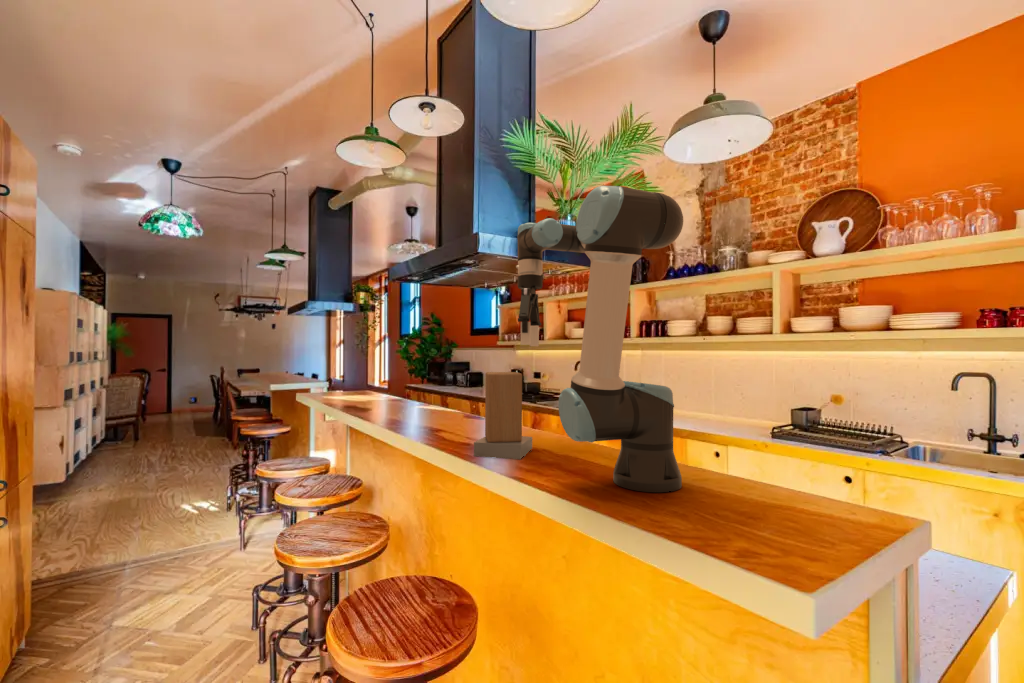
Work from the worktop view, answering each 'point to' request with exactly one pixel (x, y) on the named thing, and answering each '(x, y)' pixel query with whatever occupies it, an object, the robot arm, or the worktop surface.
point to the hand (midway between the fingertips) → (530, 345)
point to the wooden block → (503, 407)
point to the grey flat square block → (503, 448)
